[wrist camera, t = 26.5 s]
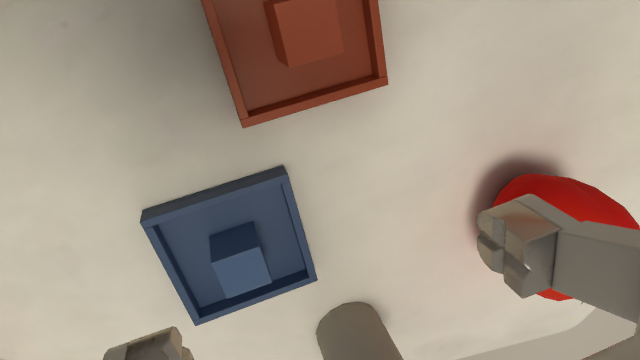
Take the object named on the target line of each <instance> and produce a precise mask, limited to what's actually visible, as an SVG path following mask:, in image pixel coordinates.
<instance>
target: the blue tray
mask: <svg viewBox="0 0 640 360" xmlns="http://www.w3.org/2000/svg"><path fill="white" fill-rule="evenodd" d="M249 222H253V223H254V226H255V228H256V231H257V234H258V237H259V240H260V242H261V245H262V248H263V251H264V254H265V257H266V260H267V264H268V268H269V271H270V275H271V279H272V283H269V284H266V285H264V286H261V287H258V288H256V289H253V290H250V291H247V292H245V293H242V294H239V295H237V296H234V297H231V298H228V299H227V298H226V296H225V294H224V292H223V289H222V287H221V285H220V283H219V281H218V278H217V276H216V274H215V272H214V269H213V267H212V265H211V258H210V243H209V236H211V235H214V234H217V233H220V232H223V231H226V230H229V229H232V228H235V227H238V226H241V225H244V224H246V223H249ZM140 223H141V225H142V227H143V229H144V231H145V232H146V234H147V236H148V238H149V240H150V242H151V244H152V246H153V248H154V249H155V251H156V253H157V255H158V257H159V259H160V261H161V263H162V264H163V266H164V268H165V270H166V272H167V274H168V276H169V278H170V279H171V281H172V283H173V285H174V287H175V289H176V291H177V293H178V295H179V296H180V298H181V300H182V302H183V304H184V306H185V308H186V310H187V311H188V313H189V315H190V317H191V319H192V321H193V323H194V325H195V326H198V325H200V324H203V323H206V322H208V321H211V320H214V319H216V318H219V317H222V316H224V315H227V314H230V313H232V312H235V311H238V310H240V309H243V308H246V307H248V306H251V305H254V304H256V303H259V302H262V301H264V300H267V299H270V298H272V297H275V296H278V295H280V294H283V293H286V292H288V291H291V290H294V289H296V288H299V287H302V286H304V285H307V284H310V283H312V282H315V281H317V280H318V279H317V276H316V272H315V269H314V265H313V262H312V258H311V255H310V251H309V248H308V244H307V241H306V237H305V234H304V230H303V227H302V223H301V219H300V216H299V212H298V209H297V205H296V202H295V198H294V195H293V191H292V188H291V184H290V181H289V177H288V174H287V172H286V170H285V168H284V166H283V165H282V166H279V167H276V168H273V169H270V170H267V171H264V172H261V173H258V174H254V175H251V176H248V177H245V178H242V179H239V180H236V181H233V182H230V183H226V184H223V185H220V186H217V187H214V188H211V189H208V190H205V191H202V192H199V193H195V194H192V195H189V196H186V197H183V198H180V199H177V200H174V201H171V202H167V203H164V204H161V205H158V206H155V207H152V208H149V209H146V210H143V211H142V215H141V219H140Z"/></svg>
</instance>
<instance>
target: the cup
mask: <svg viewBox="0 0 640 360" xmlns="http://www.w3.org/2000/svg"><path fill="white" fill-rule="evenodd" d="M316 335H317V340H318V344H319V347H320V350H321V353H322V356H323V358H324V360H403V358H402V356H401V354H400V353H399V351H398V349H397V347H396V346H395V344H394V342H393V340H392V339H391V337H390V335H389V333H388V332H387V330H386V328H385V326H384V325H383V323H382V321H381V319H380V318H379V316H378V314H377V312H376V311H375V310H374V309H373V308H372V307H371V306H370V305H368V304H364V303H360V302H354V303H347V304H343V305H341V306H339V307H337V308H335V309H333V310H331V311H330V312H329V313H328V314H327V315H326V316H325V317H324V318H323V319H322V320H321V321H320V324H319V326H318V329H317V332H316Z"/></svg>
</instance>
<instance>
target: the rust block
mask: <svg viewBox="0 0 640 360" xmlns="http://www.w3.org/2000/svg"><path fill="white" fill-rule="evenodd" d="M264 7H265V11H266V15H267V19H268V22H269V26H270V30H271V34H272V38H273V42H274V46H275V50H276V54H277V58H278V59H279V60H280V61H281V62H282V63H284V64H285V65H286V66H287V67H289V68H291V67H295V66H299V65H302V64H306V63H309V62H313V61H316V60H320V59H323V58H327V57H330V56H334V55H338V54H341V53H344V46H343V41H342V35H341V29H340V23H339V17H338V12H337V6H336V0H271V1H267V2H264Z"/></svg>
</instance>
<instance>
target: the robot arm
mask: <svg viewBox="0 0 640 360" xmlns="http://www.w3.org/2000/svg"><path fill="white" fill-rule="evenodd" d="M477 226H478V227H479V228H480V229H481V230H482V231H481V233H480V234H479V236H478V238H477V247H478V251H479V253H480V256H481V258H482V260H483V261H484V263H485V264H486V265H487V266H488V267H489V268H490V269H491V270H492V271H494V272H498V273H501V274H503V276H504V282H505V283H506V284H507V285H508V286H509V287H510V288H511V289H512V290H513V291H515V292H516V293H517V294H518V295H519V296H520V297H521V298H522V299H523V298H526V297H528V296H531V295H534V294H536V293H539V292H541V291H544V290H547V289H549V288H552V290H555V291H557V292H560V293H562V294H565V295H567V296H570V297H572V298H575V299H577V300H580V301H582V302H585V303H587V304H590V305H592V306H595V307H597V308H600V309H602V310H605V311H607V312H610V313H612V314H615V315H617V316H620V317H622V318H624V319H627V320H629V321H632V322H634V323H637V326H636V330H635V333H634V336H632V337H630V338H628V339H626V340H623V341H621V342H619V343H617V344H615V345H613V346H610V347H608V348H606V349H604V350H602V351H599V352H597V353H595V354H593V355H591V356H589V357H586V358H584V359H582V360H640V230H635V229H629V228H624V227H618V226H613V225H608V224H602V223H597V222H591V221H583V222H579V221H578V220H576V219H574V218H573V217H571V216H569V215H568V214H566V213H564V212H562V211H561V210H559V209H557V208H556V207H554V206H552V205H551V204H549V203H547V202H546V201H544V200H542V199H541V198H539V197H537V196H536V195H533V194H526V195H523V196H521V197H518V198H516V199H513V200H511V201H509V202H506V203H504V204H501V205H498V206H496V207H493V208H490V209H488V210H485V211H482V212H480V213H479V214H478V216H477ZM103 360H194V358H193V355H192V354H191V352H190V350H189V349H188V348H185V347H183V346H182V336H181V334H180V332H179V331H178V329H177V328H176V327H170V328H167V329H164V330H161V331H158V332H155V333H152V334H149V335H146V336H144V337H141V338H138V339H135V340H132V341H130V342H128V343H125V344H122V345H119V346H116V347H113V348H110V349H108V351H107V352H106V353H105V355H104V358H103Z"/></svg>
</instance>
